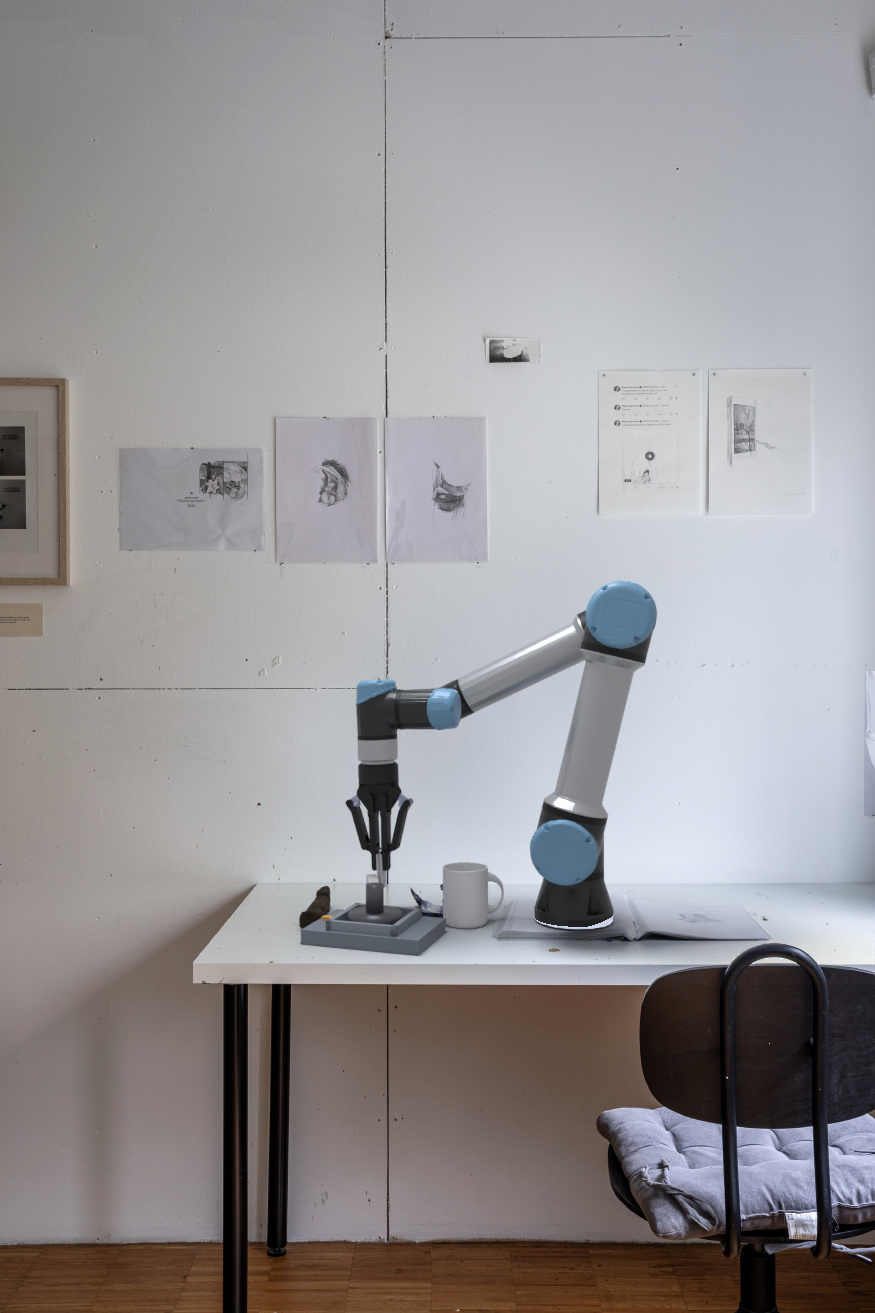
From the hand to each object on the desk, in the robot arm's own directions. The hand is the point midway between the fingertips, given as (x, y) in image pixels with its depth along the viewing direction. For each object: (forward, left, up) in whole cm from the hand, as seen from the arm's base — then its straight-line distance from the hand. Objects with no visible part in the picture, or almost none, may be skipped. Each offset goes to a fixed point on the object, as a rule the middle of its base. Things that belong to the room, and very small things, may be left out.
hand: (381, 887), depth 175 cm
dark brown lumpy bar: (+15, -3, -8) cm, 17 cm away
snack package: (-6, -14, -8) cm, 17 cm away
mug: (-15, -9, -8) cm, 19 cm away
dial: (0, +5, -5) cm, 7 cm away
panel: (-1, +6, -8) cm, 10 cm away
